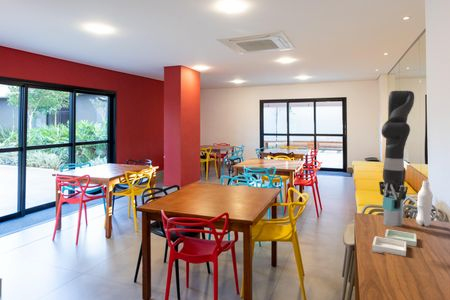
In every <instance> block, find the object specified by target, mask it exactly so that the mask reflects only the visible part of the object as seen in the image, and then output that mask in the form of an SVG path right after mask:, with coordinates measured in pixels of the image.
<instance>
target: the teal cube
mask: <svg viewBox="0 0 450 300" xmlns="http://www.w3.org/2000/svg"><path fill="white" fill-rule="evenodd" d="M382 197H383V198H382V209H383V210H384V209H386V210H388V211H401V201H400V208H399V209H395V208H394V201H395V198H394V197H384V196H382Z"/></svg>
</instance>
